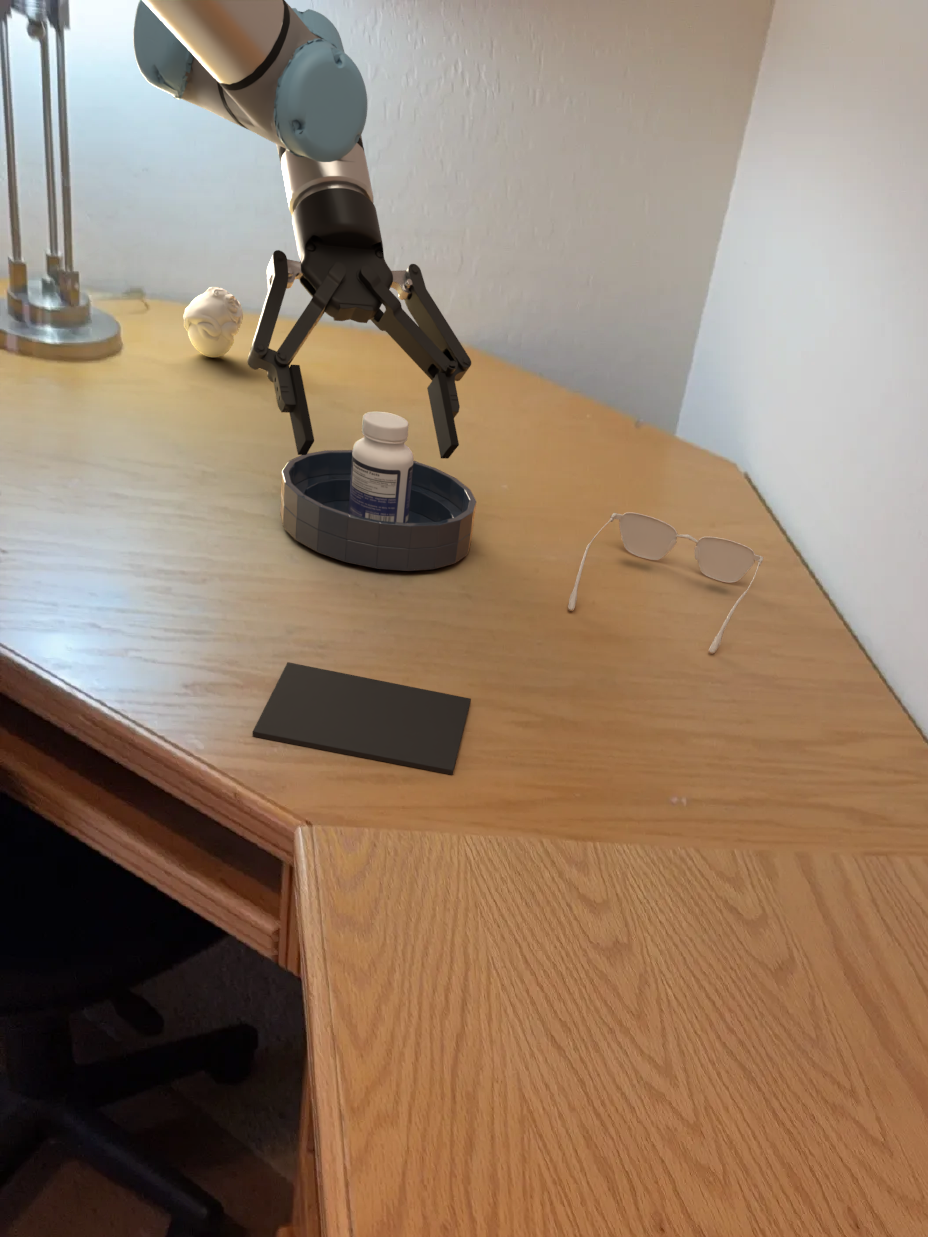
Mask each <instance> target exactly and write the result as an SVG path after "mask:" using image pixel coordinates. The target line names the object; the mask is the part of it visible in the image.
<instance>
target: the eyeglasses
mask: <svg viewBox="0 0 928 1237" xmlns="http://www.w3.org/2000/svg"><path fill="white" fill-rule="evenodd" d="M614 520H617V521H618V527H619V532H620V533H619V534H620V537H621V541H622V544H623V547H624V550H626V551H627V552H628V553H630V554H631V555H633V556H635V557H638V558H641V559H645V560H650V561H660V560H662V559H663V558H665V556H666V555H667V554H668V553H670V552H671V551H672V550H673V549H674V548H675V547H676V544H677V542H678V541H677V539H678V538H682V539H688V540H689V541H692V542H694V543H696V545H695V546H694V551H693V552H694V553H693V554H694V559H695V560H696V562H697V564H698V568H699V570H700V572H701V573H702V574H703V575H704V576H706V577H707V578H709V579H713V580H715V581H718V582H722V583H729V584H733V583H737V582H739V581H740V580H741V579H742V578H744V576H746V574H747V573H748V572H749V571H750V570H751V568H752V567H753V566H754V564H755V563H756V562H757V566H756V569H755V573H754V575H753V578H751V581H750V583H749V585H748V587H747V589H746V590H745V591H744V592H743V593H742V594H741V596H740V597H739V598H737V600H736V601H735V602H734V604H733V606H732V607H731V609H730V611H729V613H728V615H727V616H726V618H725V619H724V621H723V623H722V625H721V627H720V629H719V631H718V632H717V634H716V635H715V637H714V638H713V640H712V643H711V644H710V646H709V648H708V653H709V654H711V655H714V654H715V653H716V652H717V650H718V649H719V648H720V646H721V643H722V637H723V635H724V632H725V630H726V628H727V626H728V624H729V622H730V620H731V617H732V615H733V614H734V612H735V611H736V608H737V606H738V605H739V604H740V602H741V601H742V599H744V598H745V596H746V595H747V594H748V591H749V589H750V588H751V586H752V584H753V582H754V580H755V578H756V576H757V573H758V571H759V567H761V565H762V563H763V562H764V556H762V555H760V554H756V553H755V551H754V550H753V549H752V548H751V547H749V546H747V545H745V544H743V543H740V542H738V541H734V540H731V539H728V538H723V537H717V536H709V535H708V536H702V537H700V538H699V539H696V538H695V537H694V536H692V535H691V534H687V533H686V534H684V533H683V534H678V531H677V530H676V528H675V527H674V526H673V525H671V524H669V523H668V522H666V521H664V520H661V519H659V518H657V517H653V516H651V515H647V514H643V513H639V512H634V511H633V512H632V511H631V512H630V511H627V512H624V513H623V514H621V513H617V512H613V513H612V514H611V515H610V516H609V520H608V521H607V522H606V523H605V524H603V526H602V527H601V528H600V529H599V530H598V532H597V533H596V534H595V535H594V537H592V539H591V541H590V542H589V543H588V544H587V545H586V548H585V550H584V553H583V555H582V559H581V562H580V565H579V568H578V572H577V575H576V579H575V582H574V586H573V589H572V591H571V593H570V595H569V598H568V604H567V610H568V611H570V612H573V611H574V610H575V608H576V605H577V601H578V590H579V585H580V582H581V576H582V573H583V568H584V566H585V561H586V559H587V555H588V552H589V549H590V547H591V545H592V543H593V542H594V540H595V539H596V537H597V536H598V535H599V534H600V533H601V532H602V530H604V528H605V527H606V526H608V525H609V523H613V522H614Z"/></svg>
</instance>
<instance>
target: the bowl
mask: <svg viewBox="0 0 928 1237" xmlns="http://www.w3.org/2000/svg"><path fill="white" fill-rule="evenodd" d="M352 452H353V449H336V450H335V449H333V450H332V449H330V450H328V449H327V450H325V449H324V450H320V451H315V452H308V453H307V455H298V456H297V457H295V458H292V459H290V460H288V461H287V462H286V464H285V466H284V467H283V469H282V470H281V481H280V482H281V483H280V484H281V485H280V490H281V491H280V512H279V513H280V515H279V516H280V519H281V523H282V528H283V529H284V530H285V531H286V532H287V533H288V534H289V535H290V536H291V537H292V538H293V539H294V540H295V541H297V542H298V543H300V544H302V545H304V546H305V547H307V548H309V549H311V550H313V551H314V552H316V553H318V554H321V555H323V556H326V557H330V558H332V559H335V560H338V561H341V562H344V563H347V564H348V563H349V564H353V565H358V566H362V567H367V568H372V569H377V570H378V569H379V570H390V571H403V572H404V571H405V572H406V571H407V572H413V571H427V570H428V571H429V570H436V569H439V568H443V567H447V566H451V565H455V564H457V563H458V562H459V561H461V560H462V559H463V558H465V557H466V556H468V554H469V552H470V548H471V545H472V540H473V530H474V523H475V515H476V508H477V500H476V498H475V495H474V494H473V492H472V490H471V489H470V488H469V487H468V486H467V485H465V483H463V482H462V481H460V480H459V479H458V478H456V477H454V476H452V475H450V474H449V473H446V472H445V471H442V470H441V469H439V468H436V467H434V466H431V465H428V464H425V463H422V462H419V461H416V460H413V472H412V483H411V493H410V504H409V515H408V523H400V522H389V521H379V520H374V519H369V518H364V517H360V516H355V515H350V514H349V499H350V483H351V467H352Z"/></svg>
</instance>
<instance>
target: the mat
mask: <svg viewBox="0 0 928 1237" xmlns="http://www.w3.org/2000/svg"><path fill="white" fill-rule="evenodd" d="M278 678H279V679H278V681H277V683H276V684H275V687H274V688H273V690H272V692H271V694H270V696H269V699H267V702H266V705H265V706H264V708H263V710H262V712H261V714H260V716H259V718H258V720H257V722H256V724H255V726H254V727H253V730H252V737H254V738H260V739H265V740H270V741H275V742H280V743H284V744H290V745H295V746H301V747H306V748H311V749H315V750H322V751H327V752H332V753H337V754H341V755H346V756H347V755H348V756H352V757H357V758H361V759H367V760H373V761H378V762H383V763H389V764H393V765H400V766H404V767H408V768H414V769H419V770H424V771H430V772H434V773H435V772H436V773H440V774H446V775H451V776H453V775H454V771H455V767H456V763H457V761H458V760H457V759H458V756H459V752H460V747H461V744H462V739H463V734H464V731H465V726H466V722H467V718H468V714H469V710H470V706H471V702H472V701H471V700H472V698H470V697H464V696H459V695H455V694H450V693H445V692H440V691H435V690H431V689H424V688H420V687H415V686H409V685H406V684H405V685H403V684H400V683H393V682H390V681H384V680H380V679H374V678H371V677H364V676H359V675H355V674H349V673H344V672H339V671H334V670H330V669H324V668H319V667H314V666H309V665H304V664H299V663H294V662H288V661H287V662H286V665H285V666H284V668H283V671H282V672H281V674H280V676H279V677H278Z"/></svg>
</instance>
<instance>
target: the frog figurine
mask: <svg viewBox="0 0 928 1237" xmlns="http://www.w3.org/2000/svg"><path fill="white" fill-rule="evenodd" d="M182 318H183V328H184V330H186V331H187V335H188V339H189V341H190V343H191V345H192V346H193V347H194V349H195V350H196V351H197V352H198V353H200V354H201V355H203V356H205V357H208V358H220V357H223V356H224V355H225V354H227V353H228V352H229V351H230V349H231V348H232V346H234V343H235V339H234V336H237V335H238V334H239V330H240V328H241V326H242V324H243V319H244V311H243V307H242V304H241V302H240V301H239V300H238V299H237V298H236V297H235V296H234V295H233V294H232V293H230V292H229V291H228V290H226V289H224V288H222V287H219V286H209V287H208V289H206V290H205V292H203V293H201V294H199V295H197V296H196V297H195V298H193V300H192V301H191V302H190V303H189V304H188V306H186V308H184V313H183V315H182Z"/></svg>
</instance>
